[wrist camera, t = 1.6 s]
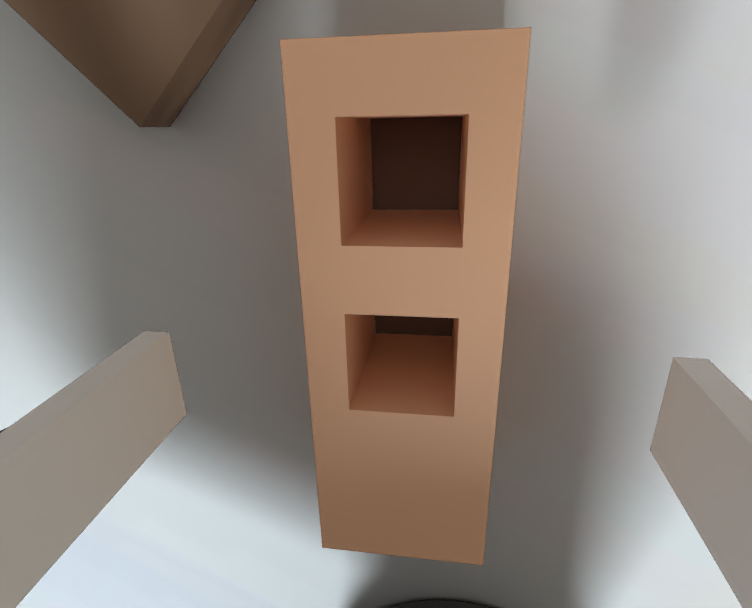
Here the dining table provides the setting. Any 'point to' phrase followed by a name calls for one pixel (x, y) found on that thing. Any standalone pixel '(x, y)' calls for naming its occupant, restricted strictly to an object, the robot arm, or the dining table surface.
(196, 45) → the post base
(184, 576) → the dining table surface
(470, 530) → the block
